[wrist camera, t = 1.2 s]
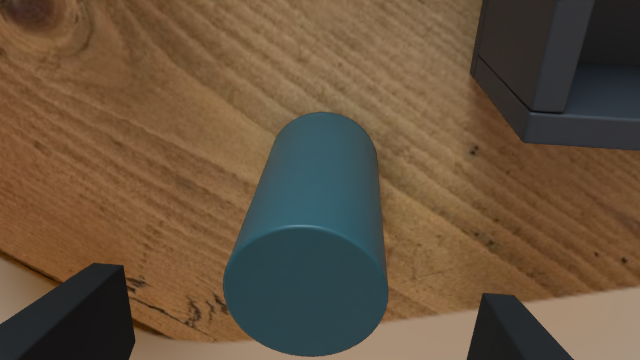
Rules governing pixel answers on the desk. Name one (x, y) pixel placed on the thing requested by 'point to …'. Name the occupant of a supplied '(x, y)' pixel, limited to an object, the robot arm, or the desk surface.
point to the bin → (563, 69)
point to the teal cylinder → (312, 242)
